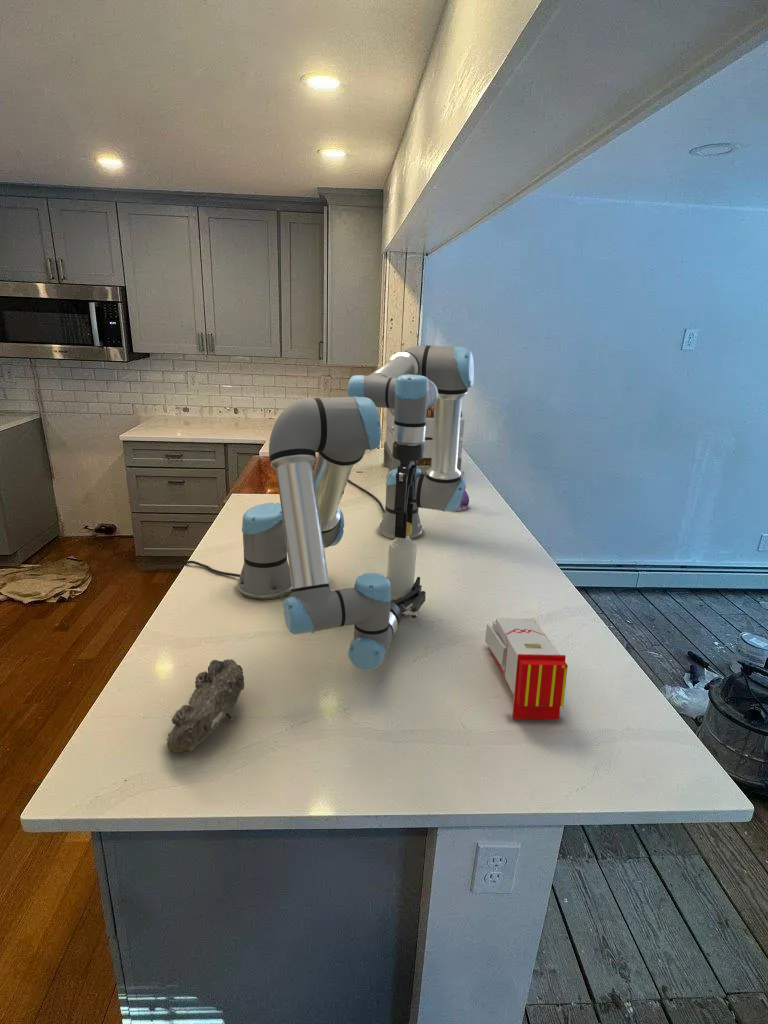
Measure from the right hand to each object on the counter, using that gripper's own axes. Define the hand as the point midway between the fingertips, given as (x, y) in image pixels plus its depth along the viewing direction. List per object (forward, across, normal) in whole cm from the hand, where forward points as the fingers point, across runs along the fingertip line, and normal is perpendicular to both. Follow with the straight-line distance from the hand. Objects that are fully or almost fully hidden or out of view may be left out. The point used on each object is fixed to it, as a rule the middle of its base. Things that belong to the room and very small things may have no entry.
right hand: (403, 532), depth 142 cm
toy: (+22, +21, +32) cm, 44 cm away
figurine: (+22, -87, +5) cm, 90 cm away
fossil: (+22, +52, -25) cm, 61 cm away
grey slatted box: (+22, -132, -20) cm, 135 cm away
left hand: (+16, -5, 0) cm, 16 cm away
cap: (-2, 0, 0) cm, 2 cm away
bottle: (+22, 0, 0) cm, 22 cm away
